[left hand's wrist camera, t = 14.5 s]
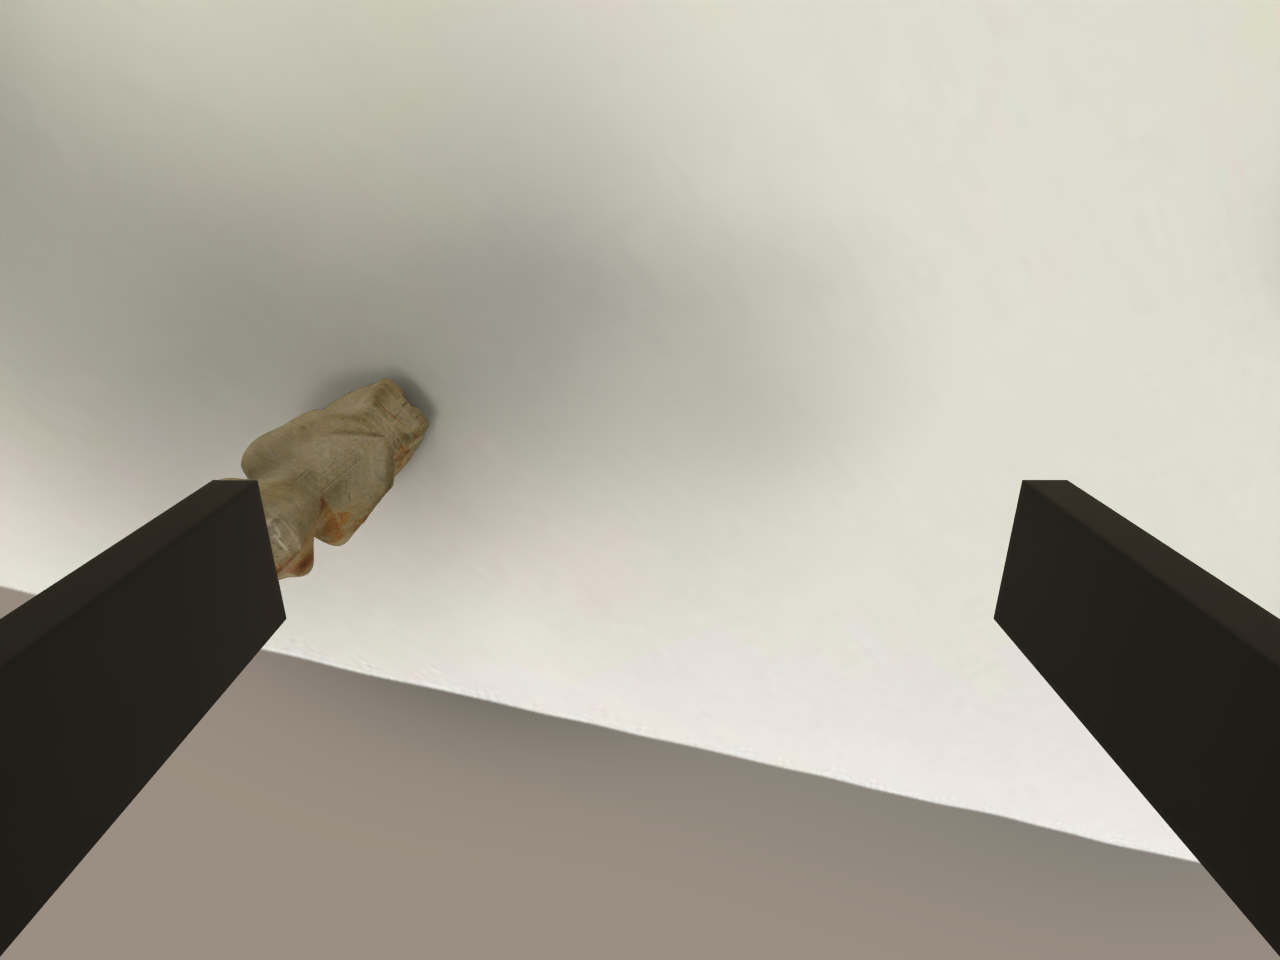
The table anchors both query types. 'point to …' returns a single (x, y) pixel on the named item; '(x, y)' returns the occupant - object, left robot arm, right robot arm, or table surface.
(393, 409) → the sculpture
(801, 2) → the table surface
